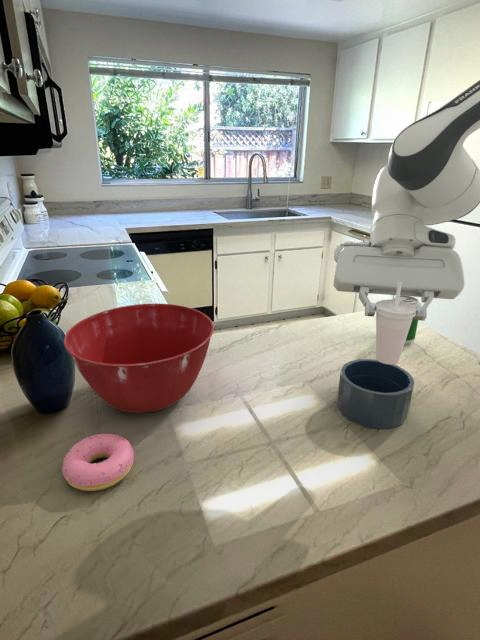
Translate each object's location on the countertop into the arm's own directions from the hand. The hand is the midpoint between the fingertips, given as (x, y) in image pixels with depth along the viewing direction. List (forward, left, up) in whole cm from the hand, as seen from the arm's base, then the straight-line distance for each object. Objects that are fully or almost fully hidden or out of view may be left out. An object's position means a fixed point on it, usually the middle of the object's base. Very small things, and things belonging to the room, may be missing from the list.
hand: (395, 317), depth 65 cm
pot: (0, -9, -23) cm, 25 cm away
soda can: (-10, -44, -23) cm, 50 cm away
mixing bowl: (+46, -3, -23) cm, 52 cm away
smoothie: (0, -1, -8) cm, 8 cm away
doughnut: (+44, +19, -23) cm, 54 cm away
